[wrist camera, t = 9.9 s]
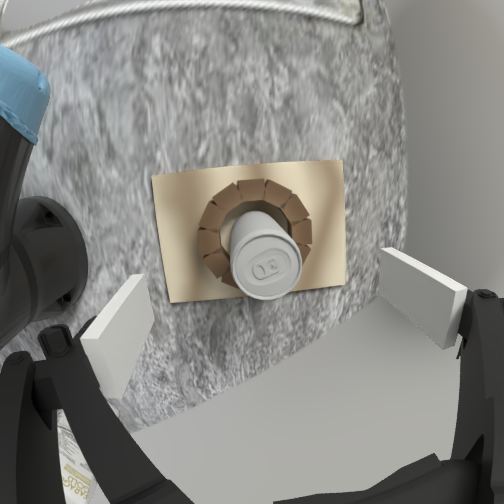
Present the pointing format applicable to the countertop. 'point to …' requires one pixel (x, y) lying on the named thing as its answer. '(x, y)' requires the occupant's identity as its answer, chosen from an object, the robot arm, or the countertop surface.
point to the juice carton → (74, 464)
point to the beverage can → (263, 257)
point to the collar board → (237, 203)
